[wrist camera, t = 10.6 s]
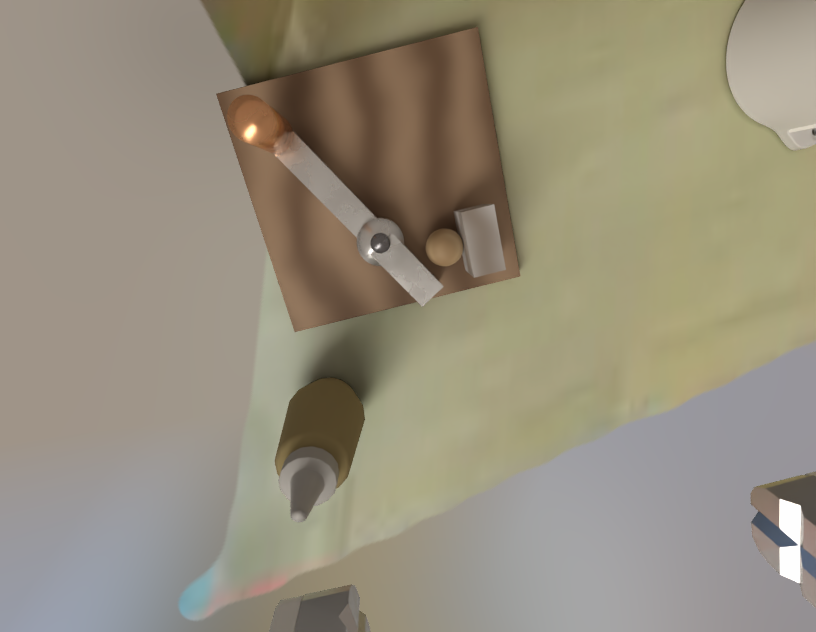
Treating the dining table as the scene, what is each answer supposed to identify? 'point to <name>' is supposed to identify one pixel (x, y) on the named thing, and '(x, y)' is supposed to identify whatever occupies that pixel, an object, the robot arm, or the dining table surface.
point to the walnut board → (383, 174)
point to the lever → (333, 195)
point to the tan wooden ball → (444, 247)
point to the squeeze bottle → (318, 443)
